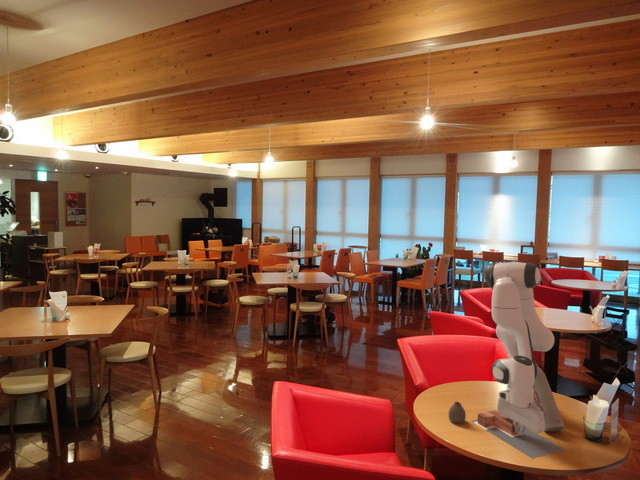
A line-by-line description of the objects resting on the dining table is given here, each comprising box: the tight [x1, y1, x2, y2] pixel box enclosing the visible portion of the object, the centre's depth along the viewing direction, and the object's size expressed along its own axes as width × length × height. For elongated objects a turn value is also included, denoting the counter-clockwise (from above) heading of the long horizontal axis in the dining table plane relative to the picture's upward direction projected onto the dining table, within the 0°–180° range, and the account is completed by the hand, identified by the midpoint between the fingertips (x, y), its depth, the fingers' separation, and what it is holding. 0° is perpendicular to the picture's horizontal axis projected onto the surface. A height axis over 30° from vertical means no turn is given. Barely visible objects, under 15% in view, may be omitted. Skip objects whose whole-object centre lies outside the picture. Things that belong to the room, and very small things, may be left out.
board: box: [471, 418, 566, 459], centre depth 181 cm, size 17×32×1 cm, turn 23°
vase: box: [448, 401, 467, 425], centre depth 191 cm, size 7×7×9 cm
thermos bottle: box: [533, 360, 566, 433], centre depth 191 cm, size 8×8×28 cm
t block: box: [477, 409, 518, 435], centre depth 186 cm, size 14×13×4 cm
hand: (519, 433), depth 179 cm, fingers closed
